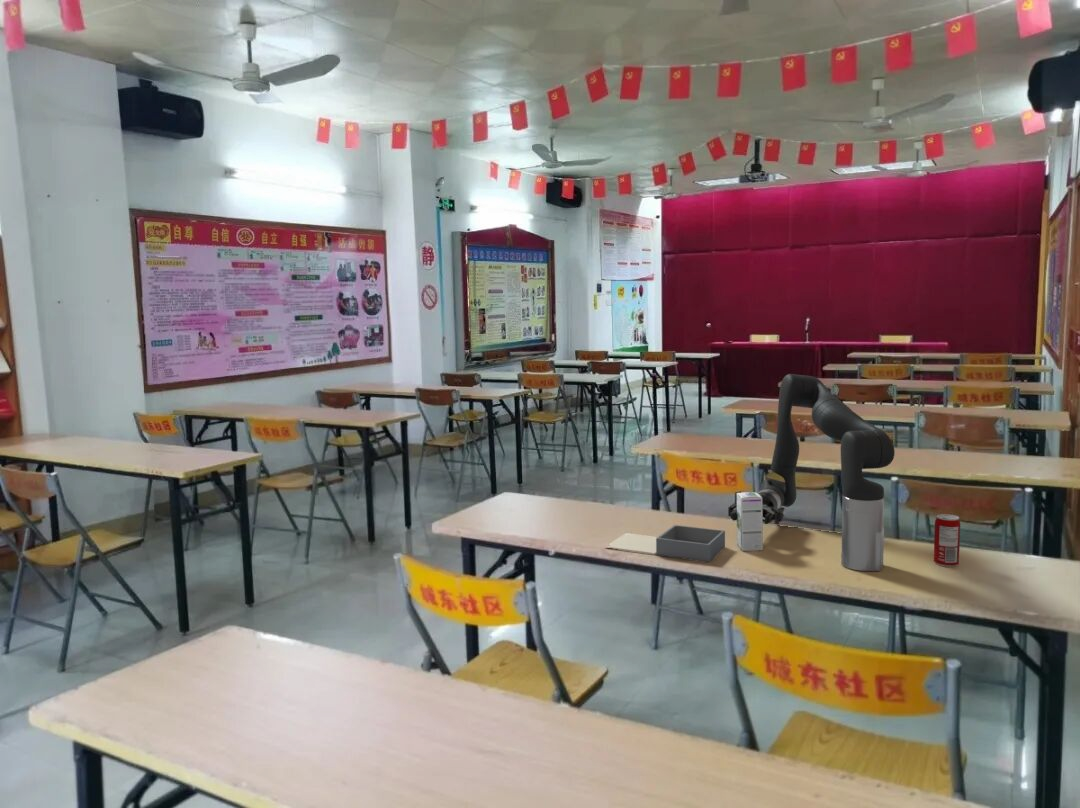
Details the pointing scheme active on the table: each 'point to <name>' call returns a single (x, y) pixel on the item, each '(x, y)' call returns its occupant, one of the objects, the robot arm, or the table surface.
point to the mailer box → (675, 543)
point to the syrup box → (749, 521)
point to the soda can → (947, 540)
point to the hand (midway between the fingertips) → (749, 518)
